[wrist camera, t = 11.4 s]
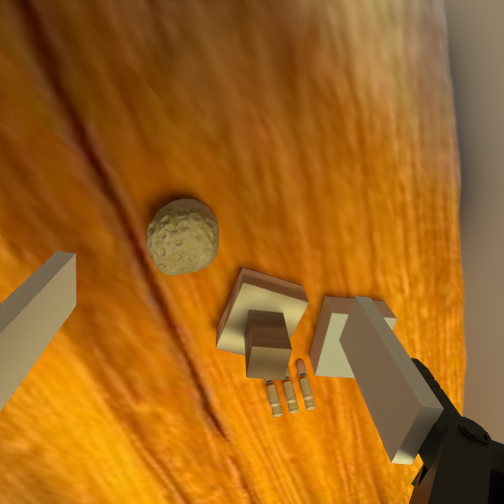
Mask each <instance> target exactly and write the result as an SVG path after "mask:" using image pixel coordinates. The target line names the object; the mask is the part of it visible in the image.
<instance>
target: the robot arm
mask: <svg viewBox="0 0 504 504" xmlns="http://www.w3.org/2000/svg"><path fill="white" fill-rule="evenodd" d="M75 306H76V254H75V253H68V252H61V251H57V252H56V253H55V254H54V255H53V256H51V257H50V258H49V259H48V260H47V261H46V262H45V263H44V264H43V265H42V266H41V267H40V268H39V269H38V270H37V271H35V272H34V273H33V274H32V275H31V276H30V277H29V278H28V279H27V280H26V281H25V282H24V283H23V284H22V285H21V286H19V287H18V288H17V289H16V290H15V291H14V292H13V293H12V294H11V295H10V296H9V297H8V298H7V299H6V300H4V301H3V302H2V303H1V304H0V411H1V410H2V409H3V407H4V406H5V404H6V403H7V402H8V400H9V399H10V397H11V396H12V395H13V393H14V392H15V390H16V389H17V388H18V386H19V385H20V383H21V382H22V381H23V379H24V378H25V376H26V375H27V374H28V372H29V371H30V369H31V368H32V367H33V365H34V364H35V362H36V361H37V360H38V358H39V357H40V355H41V354H42V353H43V351H44V350H45V348H46V347H47V346H48V344H49V343H50V341H51V340H52V339H53V337H54V336H55V334H56V333H57V332H58V330H59V329H60V327H61V326H62V325H63V323H64V322H65V320H66V319H67V318H68V316H69V315H70V313H71V312H72V311H73V309H74V308H75ZM339 341H340V344H341V346H342V348H343V351H344V353H345V355H346V358H347V360H348V362H349V365H350V367H351V369H352V372H353V374H354V376H355V379H356V381H357V384H358V386H359V388H360V391H361V393H362V395H363V398H364V400H365V402H366V405H367V407H368V409H369V412H370V414H371V416H372V419H373V421H374V423H375V426H376V428H377V430H378V433H379V435H380V438H381V440H382V442H383V445H384V447H385V449H386V452H387V454H388V456H389V459H390V461H391V463H399V464H412V463H413V461H414V459H415V458H416V456H417V454H418V453H419V455H420V457H421V459H422V461H423V463H424V464H423V465H422V467H421V469H420V470H419V472H418V474H417V475H416V477H415V479H414V480H413V482H412V485H413V486H414V490H413V493H412V496H411V499H410V502H409V504H504V444H501V443H498V442H495V441H493V440H492V439H491V438H490V436H489V435H488V433H487V432H486V431H485V430H484V429H483V428H482V427H481V426H480V425H478V424H477V423H475V422H474V421H472V420H470V419H468V418H466V417H462V416H461V415H460V414H459V413H458V411H457V410H456V408H455V407H454V405H453V404H452V403H451V401H450V400H449V398H448V397H447V395H446V394H445V392H444V391H443V390H442V389H441V388H440V385H439V384H438V382H437V381H436V380H434V379H435V378H434V377H433V375H432V374H431V372H430V371H429V370H428V368H427V367H426V366H424V365H423V364H422V363H421V362H420V361H419V360H418V359H414V358H410V357H409V355H408V354H407V352H406V351H405V349H404V348H403V346H402V345H401V343H400V342H399V340H398V339H397V337H396V336H395V334H394V333H393V331H392V330H391V328H390V327H389V325H388V324H387V322H386V321H385V319H384V318H383V316H382V315H381V313H380V312H379V310H378V308H377V307H376V305H375V304H374V302H373V301H372V299H371V298H369V297H362V296H355V299H354V302H353V304H352V307H351V310H350V312H349V315H348V318H347V320H346V323H345V326H344V328H343V331H342V334H341V336H340V339H339Z"/></svg>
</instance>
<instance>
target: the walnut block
mask: <svg viewBox="0 0 504 504" xmlns="http://www.w3.org/2000/svg"><path fill="white" fill-rule="evenodd" d="M244 343H245V361H246V377H249V378H263V379H277V380H285V376H286V372H287V368H288V364H289V359H290V355H291V351H292V348H291V344H290V340H289V335H288V331H287V327H286V323H285V318H284V314H283V313H280V312H270V311H259V310H249V313H248V318H247V324H246V330H245V336H244Z"/></svg>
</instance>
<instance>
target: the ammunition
mask: <svg viewBox="0 0 504 504" xmlns="http://www.w3.org/2000/svg"><path fill="white" fill-rule="evenodd" d="M297 372H298V375H299V376H304V375H306V374H307V371H306V367H305V365H304V363H303V361H302V360H301V359H298V361H297ZM289 378H290V373H289V370H288V368H287V372H286V376H285V380H286V379H289ZM273 381H274V380H273V379H265V383H271V382H273ZM299 381H300V385H301V390H302V394H303V399H304V402H305V407H306V410H312V409H315V408H316V407H315V403H314V399H313V395H312V390H311V387H310V383H309V379H308V378H302V379H300V380H299ZM283 386H284V391H285V396H286V400H287V401H286V402H287V403H288V407H289V413H297V412H299V409H298V404H297V400H296V395H295V392H294V388H293V384H292V382H291V381H288V382H285V383H283ZM267 391H268V397H269V403H270V407H272V413H273V416H274V417H279V416H281V415H282V409H281V404H280V399H279V395H278V393H277V389H276V385H269V386H267Z"/></svg>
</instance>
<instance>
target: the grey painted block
mask: <svg viewBox="0 0 504 504" xmlns="http://www.w3.org/2000/svg"><path fill="white" fill-rule="evenodd" d="M372 301H373V302H374V304H375V305H376V307H377V308H378V310H379V312H380V313H381V315H382V316H383V318H384V319H385V321H386V322H387V324H388V325H389V327H390V328H391V330H392V331H393V328H394V325H395V323H396V320H397V318H396V316H395V315H394V314H393V312H392V311H391V309H390V308H389V307H388V305H387V304H386V303H385V301H377V300H372ZM353 302H354V298H342V297H331V296H324V299H323V303H322V307H321V311H320V315H319V319H318V323H317V327H316V331H315V335H314V339H313V343H312V347H311V350H310V354H309V356H310V360H311V363H312V366H313V370H314V373H315V376H331V377H347V378H355V376H354V374H353V372H352V369H351V367H350V365H349V362H348V360H347V358H346V355H345V353H344V351H343V348H342V346H341V344H340V341H339V339H340V336H341V334H342V331H343V328H344V326H345V323H346V320H347V318H348V315H349V312H350V310H351V307H352V304H353Z"/></svg>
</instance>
